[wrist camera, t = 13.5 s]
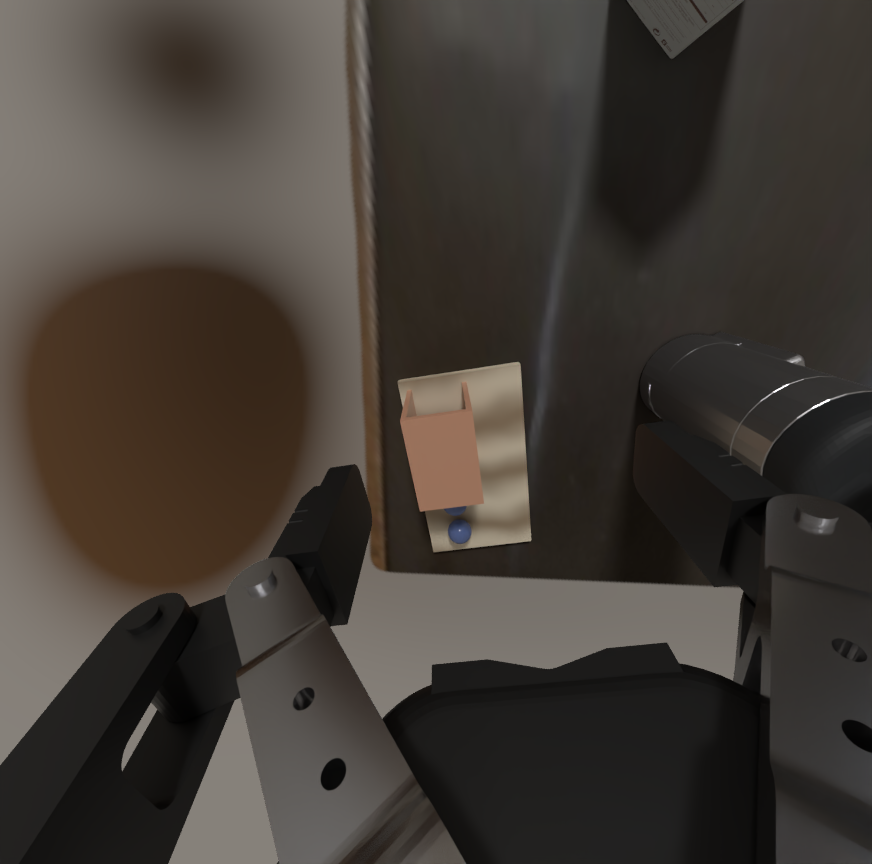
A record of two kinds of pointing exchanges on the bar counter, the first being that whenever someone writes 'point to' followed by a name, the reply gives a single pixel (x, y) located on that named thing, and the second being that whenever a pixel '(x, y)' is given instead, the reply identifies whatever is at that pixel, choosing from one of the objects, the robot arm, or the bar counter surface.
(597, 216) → the bar counter surface
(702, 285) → the bar counter surface
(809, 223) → the bar counter surface
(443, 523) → the birch mat
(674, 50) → the supplement box
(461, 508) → the navy marble front
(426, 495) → the terracotta cover
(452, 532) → the navy marble back
